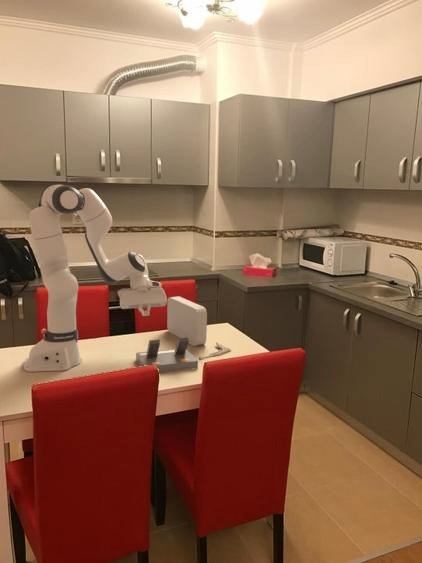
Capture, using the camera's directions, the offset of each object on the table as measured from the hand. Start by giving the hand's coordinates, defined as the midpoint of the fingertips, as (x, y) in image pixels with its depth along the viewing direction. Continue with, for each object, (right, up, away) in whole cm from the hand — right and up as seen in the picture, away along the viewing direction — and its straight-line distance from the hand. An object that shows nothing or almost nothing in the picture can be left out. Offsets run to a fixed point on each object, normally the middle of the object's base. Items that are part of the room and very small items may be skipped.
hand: (146, 315), depth 196 cm
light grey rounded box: (+15, -13, +29) cm, 36 cm away
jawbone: (+27, -18, +11) cm, 34 cm away
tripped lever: (+3, -16, -6) cm, 18 cm away
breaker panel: (+9, -20, -4) cm, 22 cm away
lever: (+14, -16, -2) cm, 21 cm away
